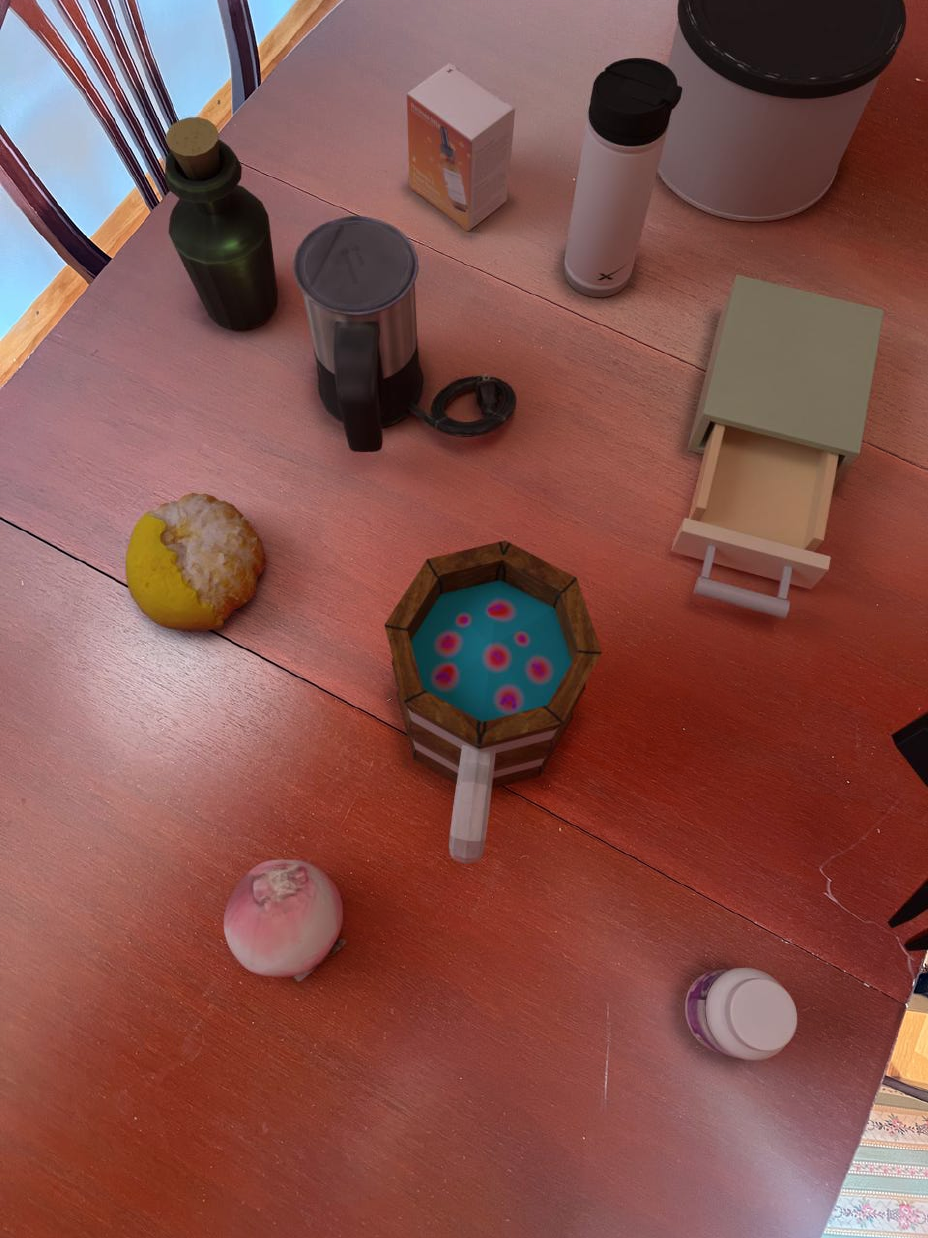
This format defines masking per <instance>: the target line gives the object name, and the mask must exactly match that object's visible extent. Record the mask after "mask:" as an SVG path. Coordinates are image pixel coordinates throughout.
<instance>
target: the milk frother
mask: <svg viewBox="0 0 928 1238" xmlns="http://www.w3.org/2000/svg"><path fill="white" fill-rule="evenodd" d="M293 259H294V260H293V263H292V265H293V266H292V269H293V275H294V279H295V283H296V285H297V286H298V288H299V289H300V291H301V293H302V297H303V302H304V308H305V313H306V318H307V323H308V328H309V333H310V338H311V342H312V346H313V347H312V348H313V351H314V352H313V353H314V357H315V361H316V371H317V378H318V379H317V380H318V381H317V390H318V395H319V397H320V400H321V402H322V405H323V406H324V407H325V409H326V410H327V412H329V414H330V415H332V416H333V417H334V418H335V419H337V420H338V421H340V422H342V425H343V428H344V432H345V436H346V440H347V444H348V448H349V449H350V451H352V452H354V453H355V452H356V453H377V452H380V451H381V450H382V448H383V442H384V439H383V428H384V427H388V426H391V425H394V424H396V423H398V422H400V421H402V420H403V419H405V418H406V417H407V416H409V415H410V414H411V413H412V414H413V415H414V416H416V417H417V418H419V420H421V421H422V422H424V423H426V424H427V425H428V426H430V427H431V428H433V429H435V430H437V431H438V432H441V433H443V434H445V435H448V436H450V437H458V438H474V437H475V438H476V437H480V436H485V435H487V434H489V433H493V432H494V431H496V430H497V429H498V428H500V427H502V426H503V425H504V424H505V423H507V422H508V421H509V419H510V418H511V417H512V416H513V414H514V412H515V410H516V407H517V395H516V391H515V390H514V388H513V387H512V386H511V385H510V384H509V383H508V382H506V381H505V380H502V379H500V378H499V377H495V376H492V377H491V376H490V374H489V373H483V376H482V375H471V376H466V377H460V378H457V379H456V380H453V381H452V382H451V381H450V383H449V384H448V385H446V386H445V387H444V388H442V389H441V390H439V392H438V393H437V394H436V395H435V396H434V398H433V400H432V403H431V406H430V414H431V415H430V414H429V413H427V412H426V411H425V410H424V409H422V408H420V406H418V404H419V402H420V401H421V399H422V396H423V392H424V388H425V387H424V386H425V378H424V372H423V370H422V367H421V365H420V355H419V345H418V344H419V343H418V325H417V323H418V322H417V301H416V297H417V296H416V280H417V277H418V273H419V267H420V266H419V259H418V254H417V252H416V249H415V246H414V245H413V243H412V241H411V240H410V238H409V237H408V236H407V235H406V234H404V232H402V231H401V230H400V229H399V228H398V227H396V226H394V225H392V224H390V223H388V222H386V221H383V220H381V219H379V218H378V219H377V218H373V217H368V216H364V215H349V216H344V217H339V218H336V219H333V220H329V221H326V222H325V223H323V224H320V225H319V226H318V227H316V228H314V229H313V230H311V231H310V232H308V234H307V235H306V236H305V237H304V238H303V239H302V241H301V242H300V244H299V245H298V246H297V249H296V251H295V254H294V258H293ZM472 389H475V392H476V393H475V394H476V401H477V404H478V406H479V407H480V408H481V414H482V415H483V417H481V418H479V419H477V420H473V421H460V420H456V419H454V418H451V417H449V416H448V415H447V414H446V408H447V406H448V404H449V403H450V402H451V401H452V400H453V399H454V398H455V397H456V396H458V395H459V394H462V393H463V392H466V391H469V390H472ZM500 397H501V398H500Z"/></svg>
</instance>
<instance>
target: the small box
mask: <svg viewBox="0 0 928 1238" xmlns="http://www.w3.org/2000/svg"><path fill="white" fill-rule="evenodd" d="M515 115H516V107H514V106H513V105H511V104H510V103H509V102H507V101H505V100H504V99H502V98H501V97H499V96H497V95H496V94H495V93H493V92H491V91H490V90H488V89H487V88H486V87H485V86H483V85H482V84H481V83H479V82H478V81H476V80H475V79H474V78H471V77H470V76H469V75H468V74H467V73H465V72H464V71H463V70H461V69H460V68H458V66H457V65H455V64H454V63H453V62H448V63H446V64H445V65H443V67H441V68H439V69H438V70H437V71H435V72H434V73H433V74H431V75H430V76H429V77H427V78H426V79H424V80H423V81H421V82H420V83H418V84H417V85H416V86H415V87H413V88H412V89H411V90H410V91H408V92H407V93H406V116H407V117H406V118H407V119H406V122H407V148H408V149H407V151H408V152H407V153H408V154H407V155H408V177H409V178H408V185H409V188H410V189H411V190H413V191H414V192H416V193H417V194H419V195H420V196H421V197H423V198H424V199H425V200H427V201H428V202H429V203H431V204H432V205H433V206H434V207H436V208H437V209H438V210H439V211H440V212H442V213H444V214H445V215H446V216H447V217H449V218H450V219H451V220H452V221H454V222H455V223H456V224H457V225H458V226H460V227H461V228H462V229H463V230H465V231H466V232H470V231H471V230H473V229H474V228H475V227H476V226H478V225H479V224H480V223H481V222H482V221H484V220H485V219H486V218H488V216H490V215H492V214H493V212H495V211H496V210H497V209H499V208H500V207H501V206H502V205H504V204H505V203H507V201H508V195H509V184H510V173H511V172H510V171H511V170H510V169H511V160H512V149H513V139H514V127H515Z"/></svg>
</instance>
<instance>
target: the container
mask: <svg viewBox="0 0 928 1238" xmlns="http://www.w3.org/2000/svg"><path fill="white" fill-rule="evenodd" d="M906 27H907V10H906V5H905V2H904V0H678V2H677V23H676V28H675V32H674V36H673V41H672V45H671V49H670V52H669V57H668V62H667V65H666V66H667V67H668V68H669V69H671V71H672V72H673V73H674V74H675V77H676V79H677V85H678V86H681V87H682V94H681V99H680V101H679V102H678V104H677V105H676V107H675V108H674V109H672V112H671V115H670V122H669V127H668V131H667V134H666V139H665V143H664V147H663V151H662V155H661V159H660V163H659V166H658V170H657V174H658V175H659V177H660V178H661V180H662V181H663V183H665V185H666V186H667V187H668V188H669V189H670V190H671V191H672V192H673V193H674V194H676V195H677V196H678V197H679V198H681V199H682V200H683V201H685V202H686V203H688V204H689V205H691V206H693V207H695V208H696V209H698V210H701V211H703V212H705V213H708V214H710V215H712V216H716V217H720V218H723V219H728V220H732V221H739V222H753V223H754V222H757V223H758V222H770V221H776V220H782V219H785V218H788V217H791V216H792V217H793V216H794V215H797V214H799V213H801V212H803V211H805V210H807V209H808V208H810V207H812V206H813V205H815V204H816V203H817V202H818V201H820V199H822V198H823V196H824V195H825V194H826V193H827V192H828V190H829V189H830V187H831V186H832V184H833V182H834V180H835V177H836V175H837V173H838V169H839V164H840V162H841V161H842V158H843V157H844V154H845V152H846V150H847V147H848V145H849V143H850V141H851V140H852V137H853V134H854V132H855V130H856V128H857V127H858V124H859V122H860V121H861V118H862V115H863V113H864V111H865V110H866V107H867V106H868V105H867V104H868V103H869V100H870V98H871V97H872V94H873V92H874V90H875V87H876V85H877V83H878V82H879V79H880V77H881V75H882V73H883V72H884V71H885V70H886V69H887V67H889V65H890V63H891V62H892V60H893V59H894V57H895V55H896V53H897V51H898V49H899V47H900V44H901V43H902V40H903V38H904V35H905V30H906Z"/></svg>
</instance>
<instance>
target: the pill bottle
mask: <svg viewBox="0 0 928 1238" xmlns="http://www.w3.org/2000/svg"><path fill="white" fill-rule="evenodd" d="M684 1014H685V1019H686V1022H687V1025H688V1027H689V1030H690V1031H691V1033H692V1035H693V1036H694V1037H695V1039H696V1040H697V1041H698V1042H699V1043H700V1044H702V1046H704V1047H705V1048H707V1049H709V1050H710V1051H713V1052H714V1053H718V1054H721V1055H723V1056H724V1055H725V1056H729V1057H732V1058H737V1059H740V1060H744V1061H753V1062H754V1061H762V1060H763V1061H764V1060H767V1059H770V1058H772V1057H774V1056H775V1055H778V1054H779V1053H780V1052H781V1051H782V1050H783V1049H784V1048H786V1045H787V1044H788V1043H790V1041H791V1040H792V1038H793V1037H794V1035H795V1033H796V1030H797V1026H798V1012H797V1007H796V1004H795V1002H794V1000H793V998H792V997H791V995H790V993H789V991H787V990H786V989H785V988H784V986H783V985H782V984H781V983H780V982H779V980H777V979H775V978H774V977H773V976H772V975H771V974H769V973H767V972H765V971H763V970H760V969H757V968H754V967H734V968H732V967H731V968H724V969H723V968H722V969H716V970H710V971H708V972H706V973H704V974H701V975H700V976H699V977H697V979H696V980H694V982H693V983H692V984H691V985H690V987H689V989H688V991H687V994H686V997H685V1002H684Z"/></svg>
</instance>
